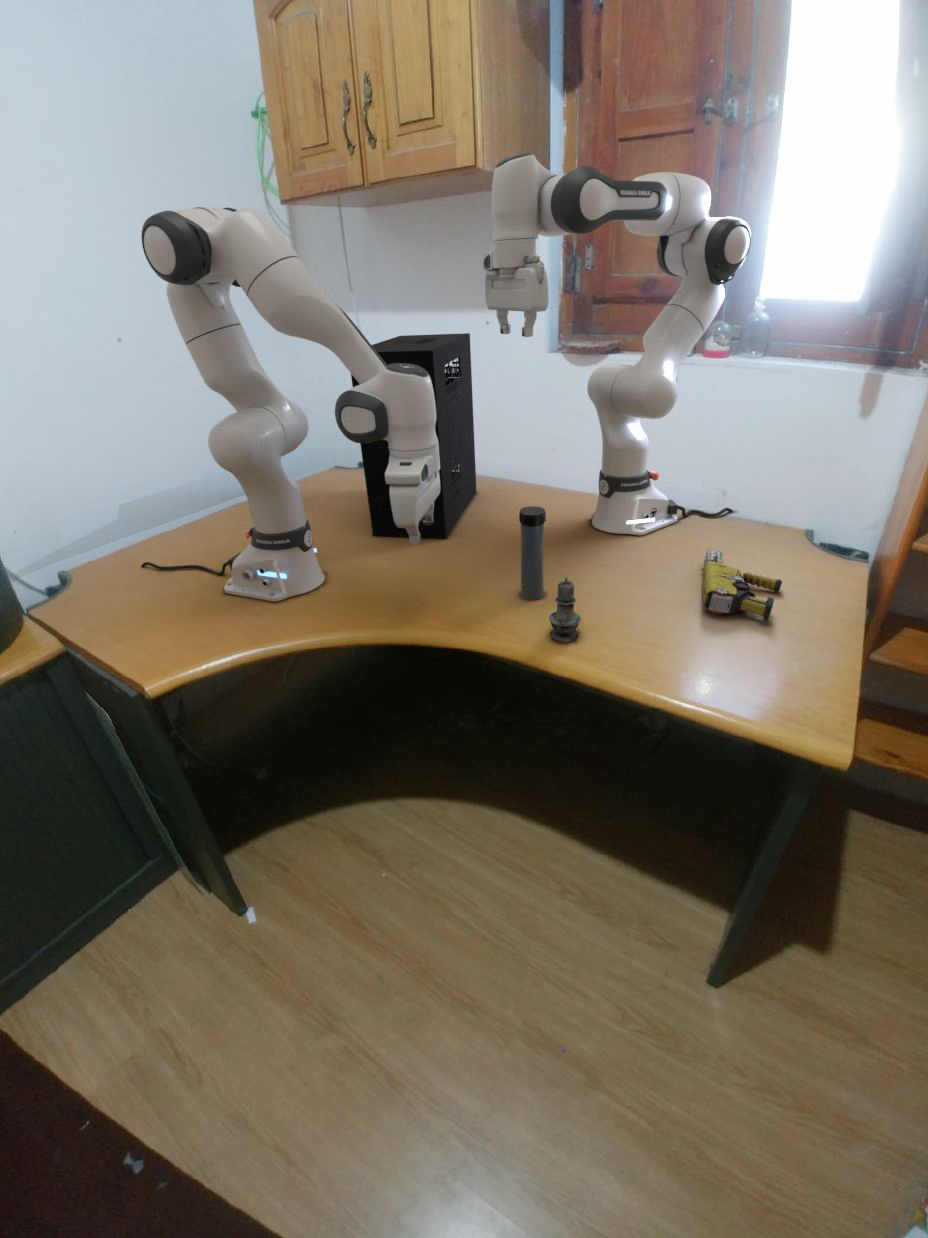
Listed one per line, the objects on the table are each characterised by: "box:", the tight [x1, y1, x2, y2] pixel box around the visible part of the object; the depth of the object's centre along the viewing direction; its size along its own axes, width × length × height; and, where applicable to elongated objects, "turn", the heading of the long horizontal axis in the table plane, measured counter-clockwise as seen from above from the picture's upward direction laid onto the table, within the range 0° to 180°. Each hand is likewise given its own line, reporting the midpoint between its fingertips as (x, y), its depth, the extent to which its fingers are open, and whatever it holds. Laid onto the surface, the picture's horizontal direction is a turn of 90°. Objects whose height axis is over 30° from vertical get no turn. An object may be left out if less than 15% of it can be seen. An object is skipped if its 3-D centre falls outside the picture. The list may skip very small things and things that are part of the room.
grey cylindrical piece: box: [520, 523, 545, 601], centre depth 123 cm, size 5×5×18 cm
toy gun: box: [702, 548, 783, 622], centre depth 122 cm, size 5×24×15 cm
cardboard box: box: [350, 332, 477, 540], centre depth 163 cm, size 38×20×45 cm, turn 167°
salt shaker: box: [548, 576, 582, 643], centre depth 110 cm, size 6×6×12 cm
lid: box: [518, 505, 547, 526], centre depth 119 cm, size 5×5×2 cm
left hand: (422, 532), depth 115 cm, fingers open, 8 cm apart
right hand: (516, 335), depth 125 cm, fingers open, 8 cm apart
